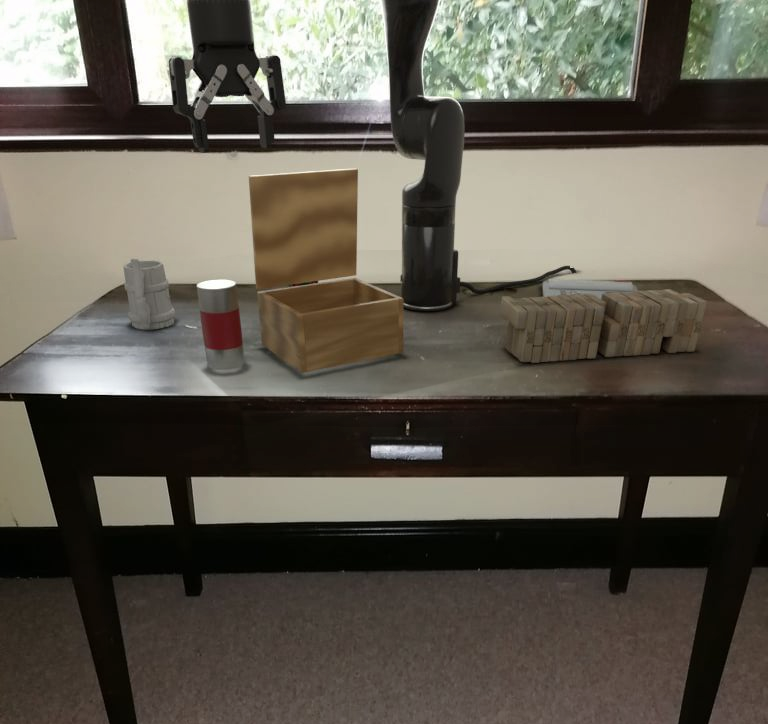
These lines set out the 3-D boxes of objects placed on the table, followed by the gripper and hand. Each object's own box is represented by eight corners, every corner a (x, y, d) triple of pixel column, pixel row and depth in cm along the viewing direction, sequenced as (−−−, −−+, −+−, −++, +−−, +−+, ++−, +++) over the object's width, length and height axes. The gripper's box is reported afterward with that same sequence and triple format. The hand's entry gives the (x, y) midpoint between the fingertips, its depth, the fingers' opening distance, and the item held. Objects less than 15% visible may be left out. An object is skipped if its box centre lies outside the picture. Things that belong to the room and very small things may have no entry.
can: (237, 360, 108) (228, 277, 102) (251, 370, 104) (241, 285, 98) (203, 366, 105) (191, 282, 99) (215, 377, 102) (203, 291, 95)
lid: (358, 169, 105) (341, 162, 109) (250, 176, 98) (236, 169, 102) (356, 275, 114) (340, 265, 118) (257, 289, 107) (244, 278, 111)
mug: (179, 316, 128) (168, 245, 121) (169, 337, 118) (157, 260, 111) (134, 318, 127) (121, 246, 121) (121, 339, 117) (106, 262, 111)
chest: (403, 357, 108) (403, 298, 104) (302, 378, 101) (297, 315, 97) (356, 332, 119) (355, 277, 114) (262, 349, 112) (257, 291, 107)
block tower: (667, 342, 116) (494, 348, 111) (680, 288, 112) (500, 292, 107) (694, 357, 110) (511, 364, 105) (709, 301, 105) (518, 306, 100)
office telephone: (542, 274, 142) (648, 277, 140) (541, 287, 144) (645, 291, 141) (544, 304, 123) (667, 308, 120) (543, 319, 124) (664, 324, 121)
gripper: (168, -5, 80) (192, 156, 89) (285, -3, 86) (297, 148, 95) (150, 0, 86) (174, 152, 95) (261, 1, 92) (274, 144, 101)
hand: (236, 150), depth 95 cm, fingers open, 8 cm apart
